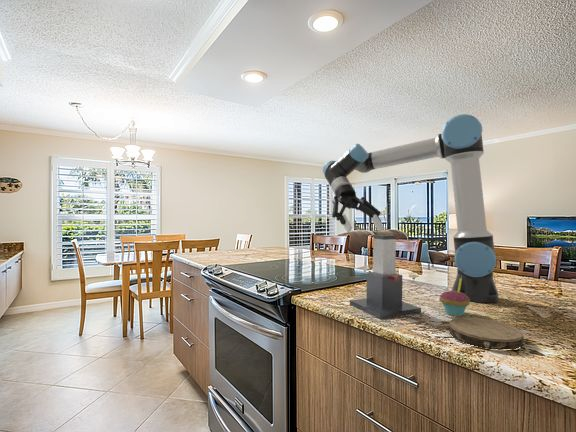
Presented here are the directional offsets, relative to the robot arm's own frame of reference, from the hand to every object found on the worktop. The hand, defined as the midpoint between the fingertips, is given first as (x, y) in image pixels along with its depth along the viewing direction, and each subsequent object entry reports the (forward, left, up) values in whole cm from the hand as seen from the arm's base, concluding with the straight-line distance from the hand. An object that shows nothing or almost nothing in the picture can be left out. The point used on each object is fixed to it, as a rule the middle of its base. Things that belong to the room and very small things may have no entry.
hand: (366, 230), depth 114 cm
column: (-7, +6, -23) cm, 25 cm away
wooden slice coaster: (-33, +22, -26) cm, 48 cm away
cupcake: (-28, +3, -26) cm, 38 cm away
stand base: (-7, +6, -25) cm, 27 cm away
